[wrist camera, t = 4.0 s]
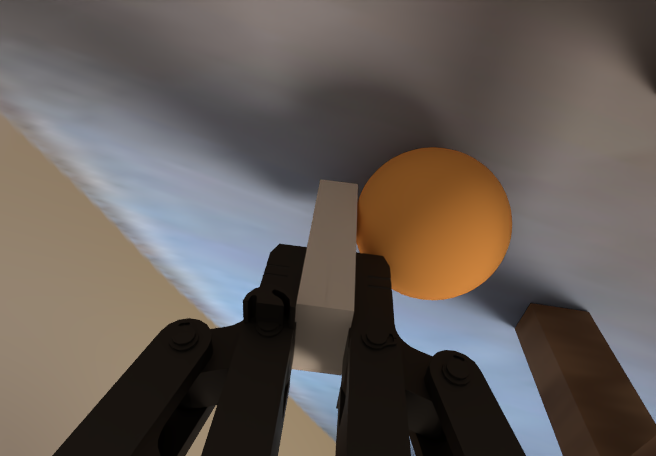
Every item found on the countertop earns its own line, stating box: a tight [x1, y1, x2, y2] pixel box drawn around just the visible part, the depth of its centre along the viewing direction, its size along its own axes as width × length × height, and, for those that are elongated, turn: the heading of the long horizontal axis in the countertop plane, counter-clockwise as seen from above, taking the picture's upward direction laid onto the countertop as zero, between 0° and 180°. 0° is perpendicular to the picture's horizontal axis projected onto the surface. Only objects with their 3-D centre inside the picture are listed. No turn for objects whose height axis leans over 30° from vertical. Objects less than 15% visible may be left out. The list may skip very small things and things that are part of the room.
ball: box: [356, 147, 512, 300], centre depth 15 cm, size 6×6×6 cm
